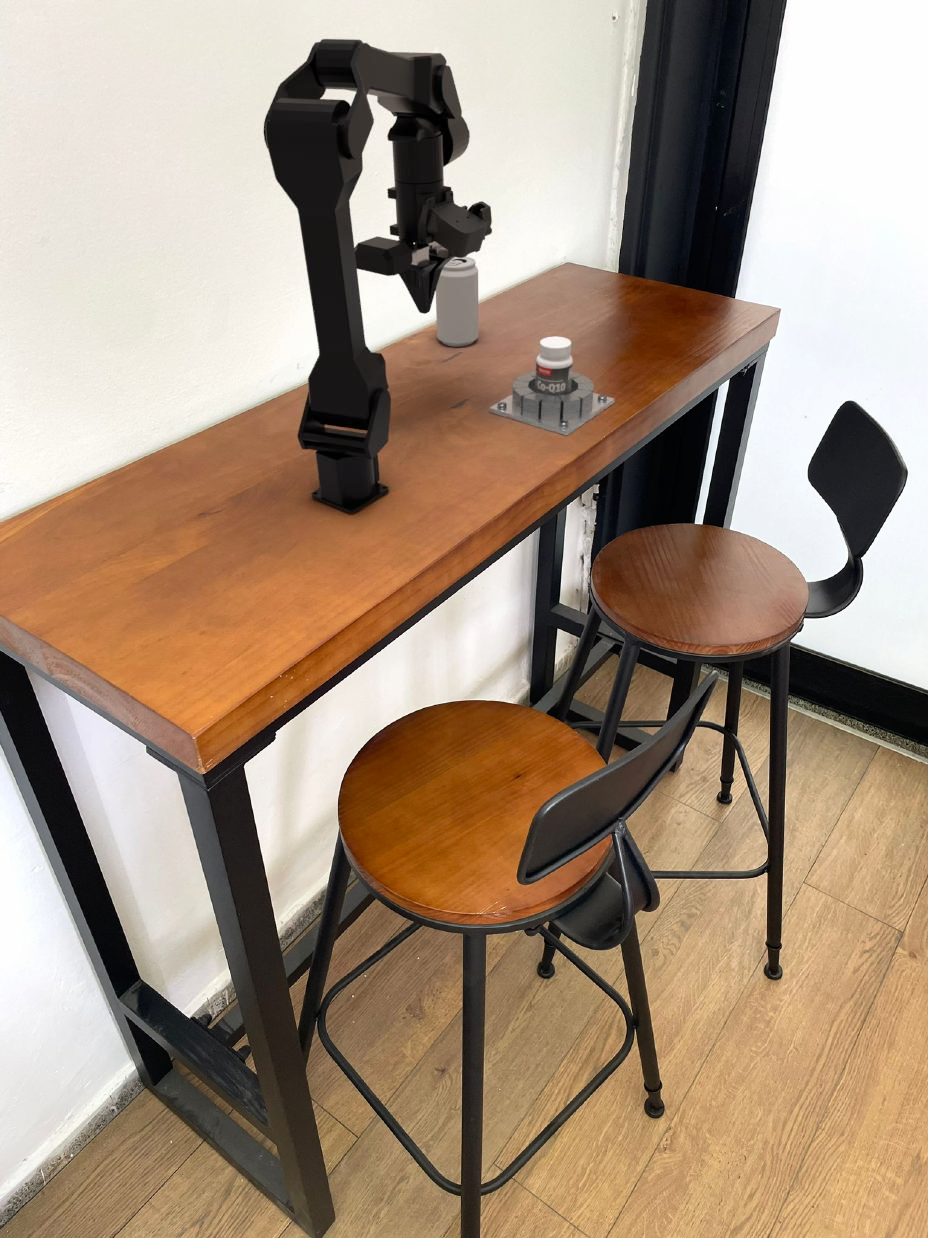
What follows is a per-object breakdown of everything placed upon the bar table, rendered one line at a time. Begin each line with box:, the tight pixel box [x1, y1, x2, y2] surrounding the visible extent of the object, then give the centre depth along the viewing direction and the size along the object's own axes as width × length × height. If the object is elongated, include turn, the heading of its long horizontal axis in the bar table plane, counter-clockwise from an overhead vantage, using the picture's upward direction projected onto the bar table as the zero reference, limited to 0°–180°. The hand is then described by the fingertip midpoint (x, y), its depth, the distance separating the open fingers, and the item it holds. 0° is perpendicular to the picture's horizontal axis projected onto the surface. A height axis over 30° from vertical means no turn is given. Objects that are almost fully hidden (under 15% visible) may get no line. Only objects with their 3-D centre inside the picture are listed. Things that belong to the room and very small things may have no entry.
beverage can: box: [435, 256, 480, 348], centre depth 139 cm, size 6×6×12 cm
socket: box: [488, 370, 615, 436], centre depth 122 cm, size 12×12×3 cm
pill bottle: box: [535, 336, 574, 396], centre depth 120 cm, size 5×5×8 cm
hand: (424, 312), depth 116 cm, fingers closed
